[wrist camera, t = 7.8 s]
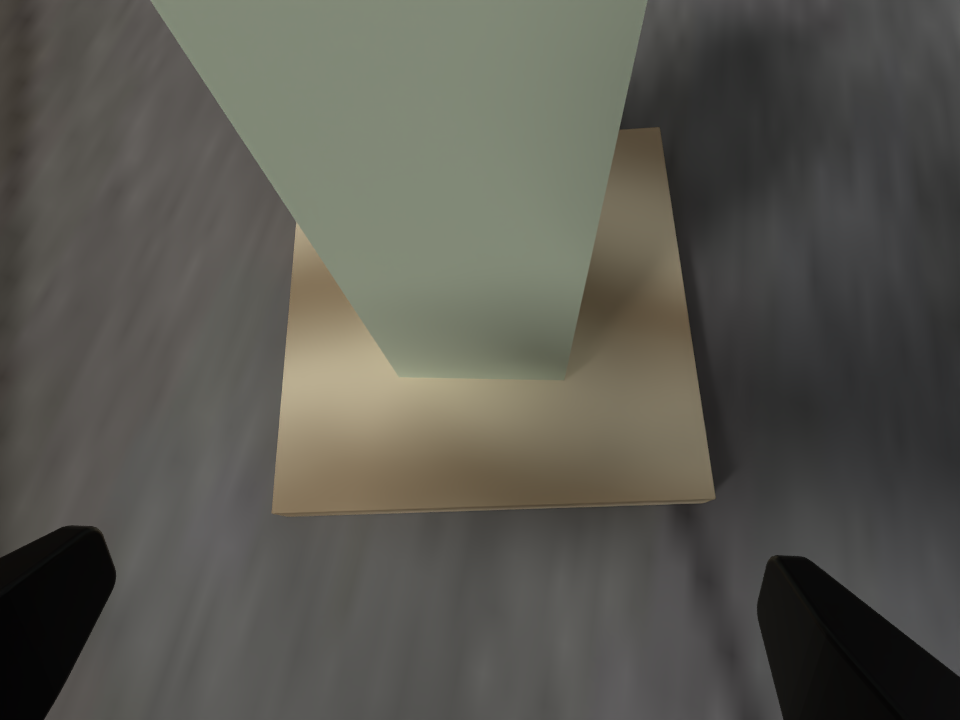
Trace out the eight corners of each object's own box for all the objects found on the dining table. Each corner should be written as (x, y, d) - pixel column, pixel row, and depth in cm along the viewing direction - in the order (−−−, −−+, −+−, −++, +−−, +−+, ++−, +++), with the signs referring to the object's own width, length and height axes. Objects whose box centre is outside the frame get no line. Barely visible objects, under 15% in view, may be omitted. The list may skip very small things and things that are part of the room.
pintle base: (702, 503, 17) (767, 480, 12) (287, 516, 18) (206, 499, 13) (652, 150, 21) (687, 36, 16) (314, 172, 22) (258, 68, 17)
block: (564, 380, 17) (653, -26, 5) (399, 377, 18) (145, -8, 6) (563, 233, 19) (631, -332, 7) (411, 233, 19) (231, -302, 7)
